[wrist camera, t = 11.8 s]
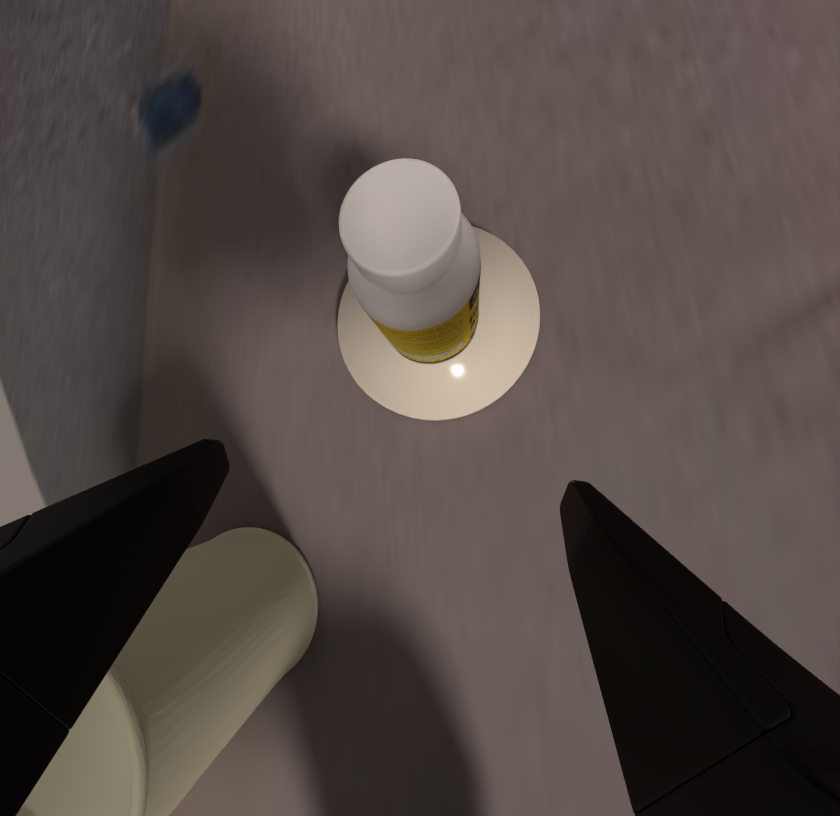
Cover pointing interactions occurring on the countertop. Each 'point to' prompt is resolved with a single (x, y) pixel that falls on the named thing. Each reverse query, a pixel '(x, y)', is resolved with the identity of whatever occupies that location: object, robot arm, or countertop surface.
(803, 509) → the countertop surface
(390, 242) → the supplement bottle
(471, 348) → the coaster
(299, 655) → the can
